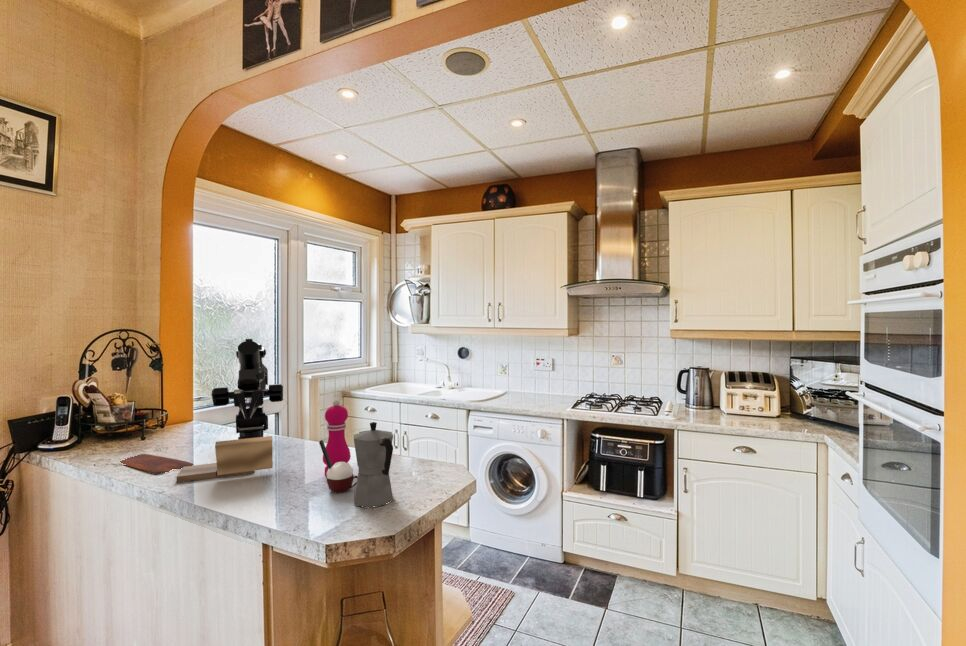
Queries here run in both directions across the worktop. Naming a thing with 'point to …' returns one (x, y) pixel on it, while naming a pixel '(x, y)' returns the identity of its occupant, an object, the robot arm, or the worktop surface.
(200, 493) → the worktop surface
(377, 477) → the coffeepot
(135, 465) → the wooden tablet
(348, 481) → the cocoa
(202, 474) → the weathered wooden board
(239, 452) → the oak plank
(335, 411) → the pepper mill
